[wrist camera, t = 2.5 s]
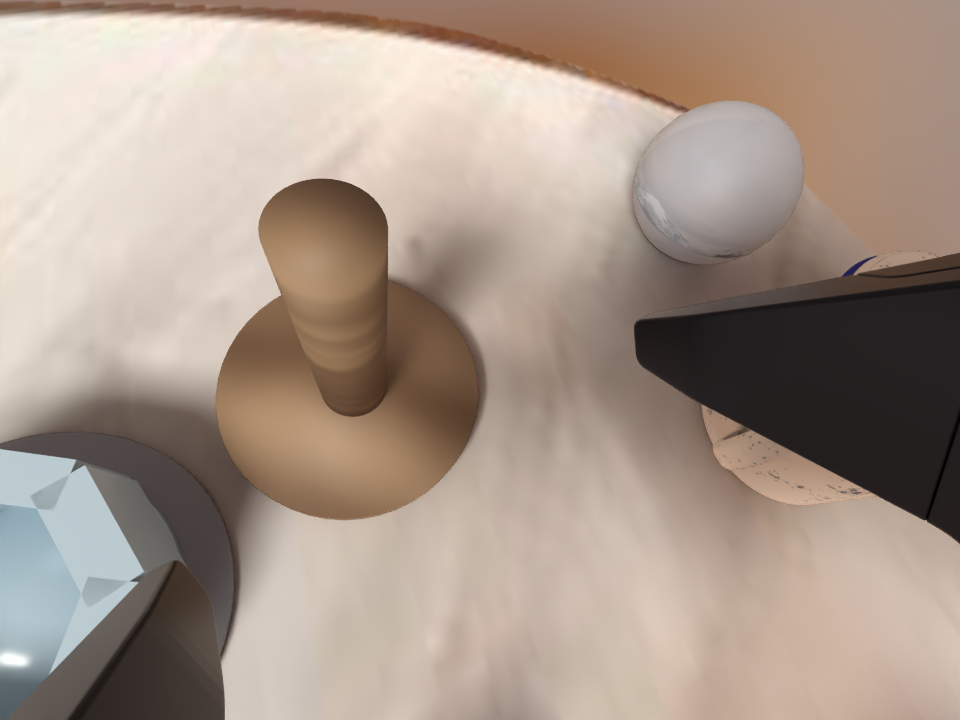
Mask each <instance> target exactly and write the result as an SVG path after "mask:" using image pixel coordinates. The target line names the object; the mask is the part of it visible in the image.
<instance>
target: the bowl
mask: <svg viewBox="0 0 960 720" xmlns="http://www.w3.org/2000/svg"><path fill="white" fill-rule="evenodd" d="M172 560H179V561H181V562H182V563H183V564H184V565H185V566H186V564H185V562H184V557H183V554H182V550H181V547H180V543H179V540H178V538H177V536H176V534H175V532H174V530H173V528H172V526H171V524H170V523H169V521H168V520H167V518H166V517H165V515H164V514H163V513H162V511H161V510H160V509H159V508H158V507H157V506H156V505H155V504H154V503H153V502H152V501H151V500H150V499H149V498H147V497H146V495H145V493H144V491H143V490H142V488H141V486H140V484H139V483H138V481H136V480H133V479H130V476H127V475H124V474H121V473H117V472H114V471H111V470H108V469H105V468H101V467H98V466H95V465H92V464H88V463H85V462H82V461H79V460H75V459H67V458H60V457H53V456H46V455H39V454H31V453H24V452H17V451H10V450H3V449H0V720H6V719H7V718H8V717H9V716H10V715H11V714H12V713H13V712H14V711H15V710H16V709H17V708H18V707H19V705H20V704H21V703H22V702H23V701H24V700H25V699H26V698H27V697H28V696H29V695H30V694H31V693H32V692H33V691H34V690H35V689H36V688H37V687H38V686H39V685H40V684H41V683H42V682H43V681H44V680H45V679H46V678H47V677H48V675H49V674H50V673H51V672H52V671H53V670H54V669H55V668H56V667H57V666H58V665H59V664H60V663H61V662H62V661H63V660H64V659H65V658H66V657H67V656H68V655H69V654H70V653H71V652H72V651H73V650H74V649H75V648H76V647H77V645H78V644H79V643H80V642H81V641H82V640H83V639H84V638H85V637H86V636H87V635H88V634H89V633H90V632H91V631H92V630H93V629H94V628H95V627H96V626H97V625H98V624H99V623H100V622H101V621H102V620H103V619H104V618H105V617H106V615H107V614H108V613H109V612H110V611H111V610H112V609H113V608H114V607H115V606H116V605H117V604H118V603H119V602H120V601H121V600H122V599H123V598H124V597H125V596H126V595H127V594H128V593H129V592H130V591H131V590H132V589H133V588H134V586H135V585H136V584H137V583H138V582H139V581H140V580H141V579H142V578H143V577H144V576H145V575H146V574H148V573H149V572H151V571H152V570H154V569H156V568H158V567H160V566H162V565H164V564H166V563H168V562H170V561H172ZM186 567H187V566H186Z"/></svg>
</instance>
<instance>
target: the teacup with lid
mask: <svg viewBox="0 0 960 720" xmlns="http://www.w3.org/2000/svg"><path fill="white" fill-rule="evenodd" d="M937 257H942V256H941V255H937V254H933V253H927V252H920V251H899V252H892V253H886V254H882V255H879V256H874V257H871V258H867V259H865V260H863V261H861V262H859V263H857V264H856V265H854V266H853V267H851V268H850V269H849V270H848V271H847V272H846V273H844V275H843V276H842V277H844V276H849V275H857V274H858V273H862V272H867V271H872V270H877V269H882V268H887V267H892V266H898V265H903V264H908V263H913V262H918V261H923V260H928V259H932V258H937ZM701 405H702V404H701ZM702 414H703V419H704V423H705V427H706V430H707V433H708V435H709V438H710V440H711V442H712V444H713V452H714V455H715V456H716V458H717V460H718V462H719V463H720V465H721V466H722V467H724V468H726V469H729V470H731V471H732V472H733V473H734V474H735V475H736V476H737V477H738V478H739V479H740V480H741V481H742V482H744V483H745V484H746V485H748V486H749V487H750V488H752V489H753V490H755V491H757V492H758V493H760V494H762V495H764V496H766V497H768V498H770V499H773V500H776V501H779V502H783V503H786V504H793V505H811V504H820V503H828V502H836V501H845V500H853V499H861V498H870V497H878V496H876V495H874V494H872V493H871V492H869V491H867V490H865V489H863V488H861V487H859V486H857V485H855V484H853V483H851V482H849V481H848V480H846V479H844V478H842V477H840V476H838V475H836V474H834V473H832V472H830V471H828V470H826V469H824V468H823V467H821V466H819V465H817V464H815V463H813V462H811V461H809V460H807V459H805V458H803V457H801V456H800V455H798V454H796V453H794V452H792V451H790V450H788V449H786V448H784V447H782V446H780V445H778V444H777V443H775V442H773V441H771V440H769V439H767V438H765V437H763V436H761V435H759V434H757V433H755V432H754V431H752V430H750V429H748V428H746V427H744V426H742V425H740V424H738V423H736V422H734V421H732V420H730V419H729V418H727V417H725V416H723V415H721V414H719V413H717V412H715V411H713V410H711V409H709V408H707V407H706V406H704V405H702Z"/></svg>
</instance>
